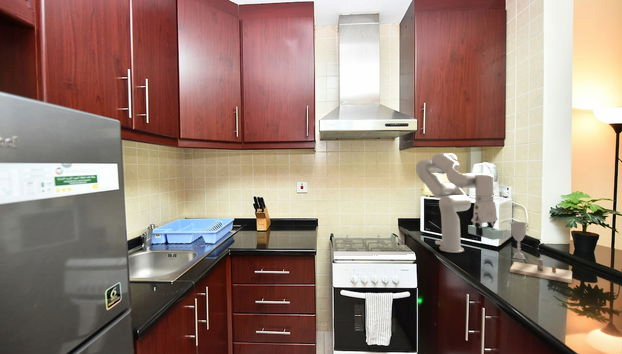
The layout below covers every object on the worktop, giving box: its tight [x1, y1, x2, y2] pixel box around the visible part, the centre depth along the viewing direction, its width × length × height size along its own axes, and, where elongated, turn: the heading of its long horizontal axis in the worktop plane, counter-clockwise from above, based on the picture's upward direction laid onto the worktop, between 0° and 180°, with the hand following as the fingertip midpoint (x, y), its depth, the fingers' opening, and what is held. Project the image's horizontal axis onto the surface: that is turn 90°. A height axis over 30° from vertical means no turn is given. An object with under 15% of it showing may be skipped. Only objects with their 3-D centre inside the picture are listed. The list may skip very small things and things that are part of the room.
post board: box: [509, 258, 573, 284], centre depth 120 cm, size 20×12×6 cm, turn 46°
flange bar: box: [467, 224, 503, 241], centre depth 137 cm, size 14×6×4 cm, turn 16°
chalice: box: [509, 221, 528, 260], centre depth 141 cm, size 7×7×18 cm
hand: (484, 234), depth 137 cm, fingers closed on flange bar, 6 cm apart
